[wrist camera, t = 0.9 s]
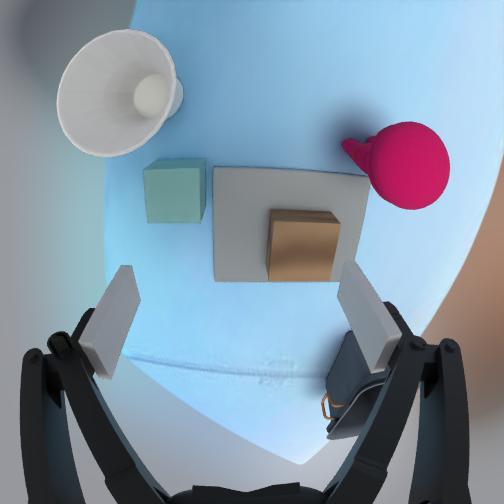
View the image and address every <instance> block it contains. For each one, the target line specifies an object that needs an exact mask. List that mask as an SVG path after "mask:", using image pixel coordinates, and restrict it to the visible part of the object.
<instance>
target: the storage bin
mask: <svg viewBox="0 0 504 504" xmlns="http://www.w3.org/2000/svg"><path fill="white" fill-rule="evenodd" d="M389 371H390V367H389V365H388V364H387V366H386V368H385V370H384V371H382V372H377V373H372V374H371V372H370V369H369V367H368V365H367V362H366V360H365V358H364V355H363V353H362V351H361V348H360V346H359V344H358V342H357V339H356V337H355V335H354V333H353V332H350V333H348V334H347V336H346V338H345V341H344V343H343V345H342V348H341V350H340V352H339V354H338V357H337V359H336V361H335V363H334V365H333V367H332V369H331V371H330V373H329V375H328V377H327V379H326V389H327V393H326V394H325V396H324V398H323V399H322V402H321V405H322V411H323V416H324V418H325V419H328V420H331V422H330V424H329V425H328V426H327V428H326V429H327V432H328V433H329V434H328V435H327V439H330V440H336V439H342V438H348V437H353V436H358V435H360V433H361V431H362V429H363V427H364V425H365V423H366V421H367V419H368V417H369V415H370V413H371V411H372V409H373V407H374V405H375V403H376V401H377V398H378V396H379V394H380V392H381V389H382V387H383V385H384V380H385V378H386V376H387V375H388V373H389ZM419 388H420V382H419V385H418V388H417V390H418V389H419ZM326 397H328V403H329V410H330V418H329V417H327V416H326V412H325V407H324V401H325V399H326Z"/></svg>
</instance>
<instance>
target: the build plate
mask: <svg viewBox="0 0 504 504" xmlns="http://www.w3.org/2000/svg"><path fill="white" fill-rule="evenodd" d="M370 184H371V182H370V180H369V177H368V176H361V175H353V174H344V173H334V172H324V171H312V170H299V169H284V168H264V167H232V166H214V167H213V232H214V275H215V282H340V280H341V275H342V270H343V265H344V261H354V260H355V256H356V252H357V247H358V243H359V239H360V234H361V230H362V225H363V221H364V216H365V211H366V206H367V200H368V195H369V189H370ZM270 209H289V210H311V211H330V212H332V213H333V215H334V216H335V217H336V218H337V219H338V221H339V222H340V223H341V228H340V233H339V238H338V243H337V248H336V253H335V258H334V262H333V267H332V272H331V276H330V280H329V281H269V280H268V275H267V269H266V254H267V241H268V229H269V216H270Z"/></svg>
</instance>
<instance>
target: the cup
mask: <svg viewBox="0 0 504 504" xmlns="http://www.w3.org/2000/svg"><path fill="white" fill-rule="evenodd" d="M183 94H184V93H183V87H182V84H181V82H180V81H179V79H178V78H177V77H176V71H175V64H174V62H173V60H172V58H171V56H170V53H169V51H168V50H167V48H166V47H165V46H164V45H163V44H162V43H161V42H160V41H159V40H158V39H157V38H155V37H153V36H151V35H149V34H148V33H146V32H143V31H138V30H132V29H124V30H115V31H111V32H109V33H106V34H103V35H101V36H98V37H96V38H95V39H93V40H92V41H90V42H89V43H88V44H86V45H85V46H84V47H82V49H81V50H80V51H79V52H78V53H77V54H76V55H75V56H74V57H73V58H72V59H71V61H70V63H69V64H68V66H67V68H66V69H65V71H64V73H63V75H62V79H61V81H60V84H59V88H58V94H57V113H58V119H59V122H60V125H61V127H62V129H63V132H64V134H65V135H66V136H67V138H68V139H69V140H70V141H71V143H72V144H73V145H74V146H76V147H77V148H78V149H80V150H82V151H83V152H84V153H87V154H90V155H94V156H96V157H116V156H120V155H124V154H128V153H130V152H132V151H133V150H135V149H137V148H139V147H141V146H142V145H144V144H145V143H146V142H147V141H148V140H149V139H150V138H152V137H153V136H154V135H155V134H156V133H157V132H158V130H159V129H160V127H161V126H162V124H163V123H164V121H165V120H166V119H168V118H170V117H171V116H173V115H174V114H175V113H176V112H177V110H178V109H179V108H180V106H181V103H182V101H183Z"/></svg>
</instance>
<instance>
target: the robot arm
mask: <svg viewBox="0 0 504 504" xmlns="http://www.w3.org/2000/svg"><path fill="white" fill-rule="evenodd" d="M337 298H338V300H339V302H340V304H341V306H342V309H343V311H344V313H345V315H346V317H347V319H348V322H349V324H350V326H351V328H352V330H353V333H354V335H355V337H356V339H357V342H358V344H359V346H360V348H361V351H362V353H363V355H364V358H365V360H366V362H367V365H368V367H369V369H370V372H371V374H372V373H377V372H382V371H384V370H385V368H386V366H387V364H388V365H389V367H390V371H389V373H388V375H387V376H386V378H385V380H384V385H383V387H382V389H381V392H380V394H379V396H378V398H377V401H376V403H375V405H374V407H373V409H372V411H371V413H370V415H369V417H368V419H367V421H366V423H365V425H364V427H363V429H362V431H361V433H360V435H359V436H358V438H357V440H356V442H355V444H354V445H353V447H352V449H351V451H350V452H349V454H348V456H347V457H346V459H345V461H344V462H343V464H342V466H341V467H340V469H339V470H338V472H337V474H336V475H335V476H334V478H333V479H332V480H331V482H330V483H329V484H328V485H327V487H326V488H325V490H324V491H323V492H321V491H318V490H316V489H312V488H309V487H303V486H300V483H299V482H297V483H288V484H279V485H272V486H268V487H265V488H262V489H258V490H254V491H250V492H241V491H236V490H231V489H227V488H222V487H214V486H194V485H193V487H192V490H187V491H183V492H180V493H177V494H176V495H174V496H172V497H170V496H169V494H168V493H167V492H166V491H165V490H164V489H163V488H162V487H161V485H160V484H159V483H158V482H157V481H156V480H155V479H154V478H153V476H152V475H151V473H150V472H149V471H148V469H147V468H146V466H145V465H144V464H143V462H142V461H141V459H140V458H139V457H138V455H137V454H136V452H135V451H134V449H133V448H132V446H131V445H130V443H129V441H128V440H127V438H126V437H125V435H124V433H123V432H122V430H121V429H120V427H119V425H118V423H117V422H116V420H115V418H114V417H113V415H112V413H111V411H110V409H109V408H108V406H107V404H106V402H105V400H104V398H103V396H102V394H101V392H100V390H99V388H98V386H97V384H96V382H95V380H94V378H93V374H94V372H96V374H97V376H98V377H99V378H103V379H110V380H111V379H112V376H113V373H114V370H115V368H116V365H117V362H118V359H119V356H120V353H121V350H122V348H123V345H124V342H125V339H126V337H127V334H128V331H129V329H130V326H131V324H132V321H133V319H134V316H135V313H136V311H137V308H138V306H139V304H140V301H141V300H140V296H139V292H138V288H137V284H136V280H135V276H134V272H133V268H132V265H121V266H120V268H119V269H118V271H117V273H116V274H115V276H114V278H113V279H112V281H111V283H110V284H109V286H108V288H107V289H106V291H105V293H104V295H103V296H102V298H101V300H100V302H99V303H98V305H97V307H96V308H89V309H88V310H87V311H86V312H85V313H84V314H83V316H82V318H81V319H80V322H79V323H78V325H77V327H76V328H75V330H74V332H73V334H72V336H71V338H70V336H69V335H68V333H66V332H64V331H63V332H62V331H60V332H56V333H54V334H53V335H51V337H50V338H49V339H48V341H47V346H48V348H49V350H50V351H51V353H52V354H45V355H43V353H42V351H41V350H40V349H38V348H33V349H30V350H29V351H27V352H26V354H25V355H24V357H23V362H22V373H21V388H20V436H21V450H22V460H23V469H24V476H25V482H26V487H27V493H28V498H29V499H28V504H86V503H85V500H84V497H83V493H82V490H81V486H80V483H79V479H78V476H77V471H76V467H75V462H74V458H73V453H72V448H71V442H70V437H69V430H68V423H67V415H66V407H65V398H64V390H65V392H66V395H67V398H68V400H69V403H70V406H71V408H72V411H73V413H74V415H75V418H76V420H77V423H78V425H79V427H80V429H81V432H82V434H83V436H84V438H85V440H86V442H87V444H88V446H89V448H90V450H91V452H92V454H93V456H94V458H95V460H96V462H97V464H98V465H99V467H100V469H101V471H102V472H103V474H104V476H105V484H106V486H107V488H108V490H109V491H110V493H111V494H112V496H113V497H114V499H115V500H116V502H117V503H118V504H373V502H374V500H375V498H376V497H377V495H378V493H379V491H380V489H381V487H382V485H383V483H384V481H385V479H386V477H387V473H388V472H387V467H388V465H389V462H390V460H391V458H392V456H393V454H394V451H395V449H396V447H397V444H398V442H399V440H400V437H401V435H402V432H403V429H404V427H405V424H406V422H407V419H408V416H409V413H410V410H411V407H412V404H413V401H414V398H415V395H416V392H417V388H418V385H419V382H420V416H419V430H418V442H417V451H416V459H415V466H414V473H413V479H412V484H411V489H410V495H409V503H408V504H472V503H471V498H470V493H469V488H468V473H469V414H468V401H467V392H466V382H465V375H464V368H463V362H462V356H461V350H460V347H459V345H458V344H457V342H455V341H454V340H452V339H449V338H445V339H443V340H442V341H441V342H440V344H439V345H429V344H427V343H426V341H425V340H424V339H423V338H421V337H419V336H415V335H413V333H412V332H411V330H410V328H409V327H408V325H407V324H406V322H405V321H404V319H403V318H402V316H401V314H399V311H398V310H397V308H396V307H395V306H394V305H393V304H391V303H390V302H389V301H388V302H382V300H381V299H380V297H379V296H378V294H377V293H376V291H375V290H374V288H373V287H372V285H371V284H370V282H369V281H368V279H367V278H366V276H365V275H364V273H363V272H362V270H361V269H360V267H359V266H358V264H357V263H356V261H344V265H343V270H342V275H341V280H340V285H339V290H338V294H337Z"/></svg>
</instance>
